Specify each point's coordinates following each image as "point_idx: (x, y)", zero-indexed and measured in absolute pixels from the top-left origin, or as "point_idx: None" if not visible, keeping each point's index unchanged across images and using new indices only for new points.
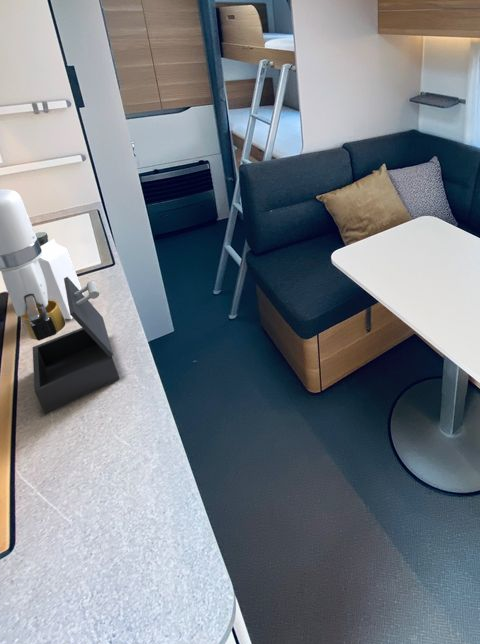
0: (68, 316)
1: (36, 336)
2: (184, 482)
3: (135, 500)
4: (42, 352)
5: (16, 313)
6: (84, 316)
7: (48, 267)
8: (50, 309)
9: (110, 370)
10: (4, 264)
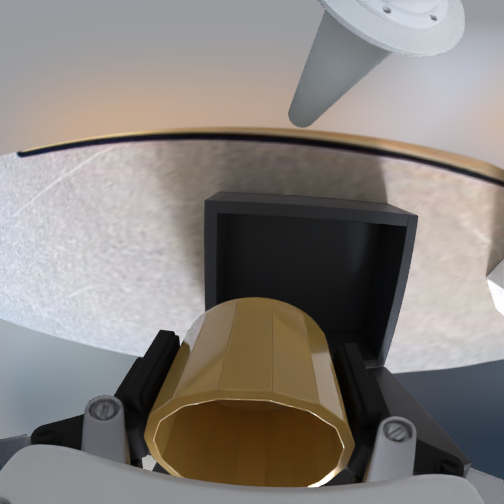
0: (492, 278)
1: (153, 344)
2: (13, 321)
3: (10, 278)
4: (397, 226)
5: (9, 463)
6: None
7: None
8: (315, 432)
9: None
10: None
